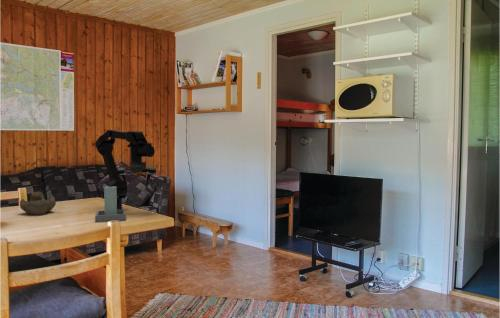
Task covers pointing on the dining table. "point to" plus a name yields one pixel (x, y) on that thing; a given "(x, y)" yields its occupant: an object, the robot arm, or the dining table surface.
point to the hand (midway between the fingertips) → (136, 187)
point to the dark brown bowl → (37, 204)
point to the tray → (109, 216)
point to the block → (110, 200)
